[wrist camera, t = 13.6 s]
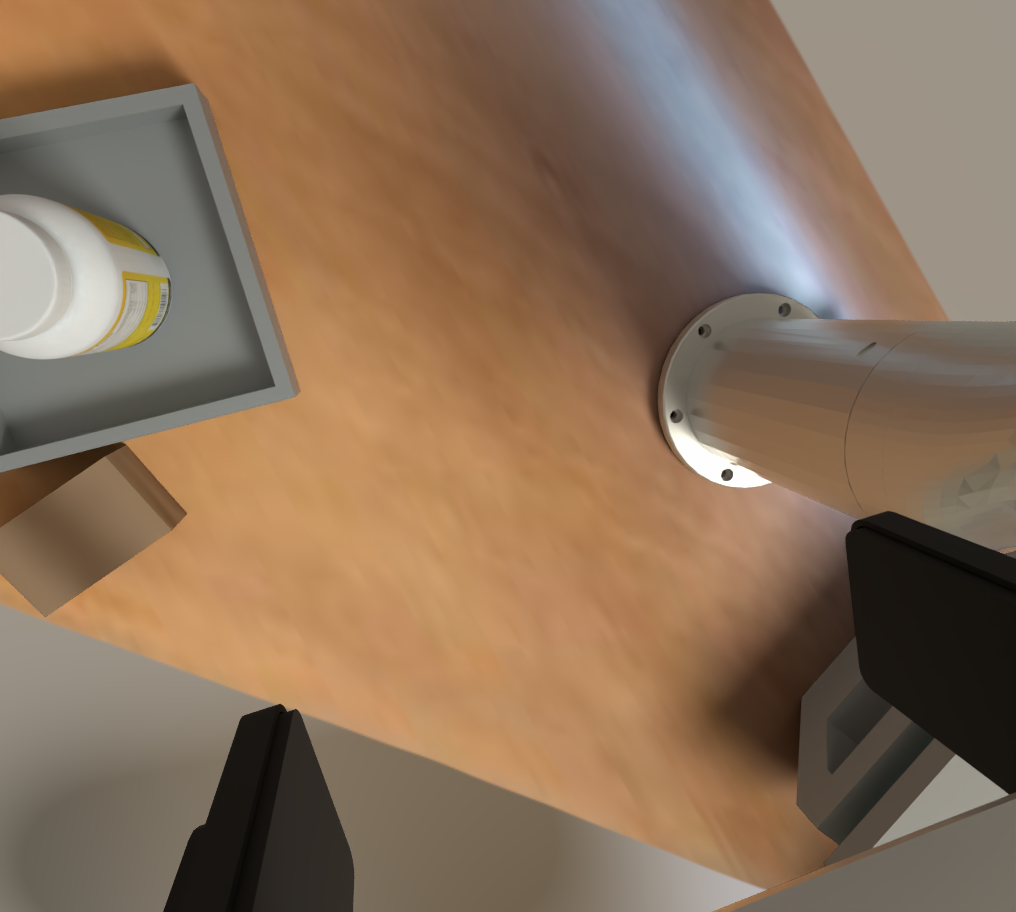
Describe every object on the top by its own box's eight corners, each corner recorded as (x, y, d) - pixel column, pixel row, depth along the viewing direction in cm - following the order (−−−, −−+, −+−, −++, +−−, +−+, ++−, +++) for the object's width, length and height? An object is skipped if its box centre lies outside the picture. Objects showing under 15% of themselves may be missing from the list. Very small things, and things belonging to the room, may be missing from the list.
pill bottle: (34, 216, 33) (-140, 165, 22) (174, 226, 34) (76, 184, 23) (46, 347, 34) (-114, 361, 23) (179, 352, 36) (90, 369, 24)
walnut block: (126, 444, 37) (105, 456, 34) (187, 513, 38) (171, 530, 35) (4, 527, 36) (-28, 546, 33) (70, 594, 38) (45, 617, 35)
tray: (207, 99, 34) (194, 82, 31) (300, 391, 38) (295, 397, 35) (-120, 162, 32) (-162, 149, 29) (14, 464, 36) (-13, 475, 33)
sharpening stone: (962, 512, 49) (1122, 567, 38) (1017, 571, 51) (1182, 638, 41) (742, 764, 50) (840, 884, 39) (806, 811, 52) (914, 936, 42)
